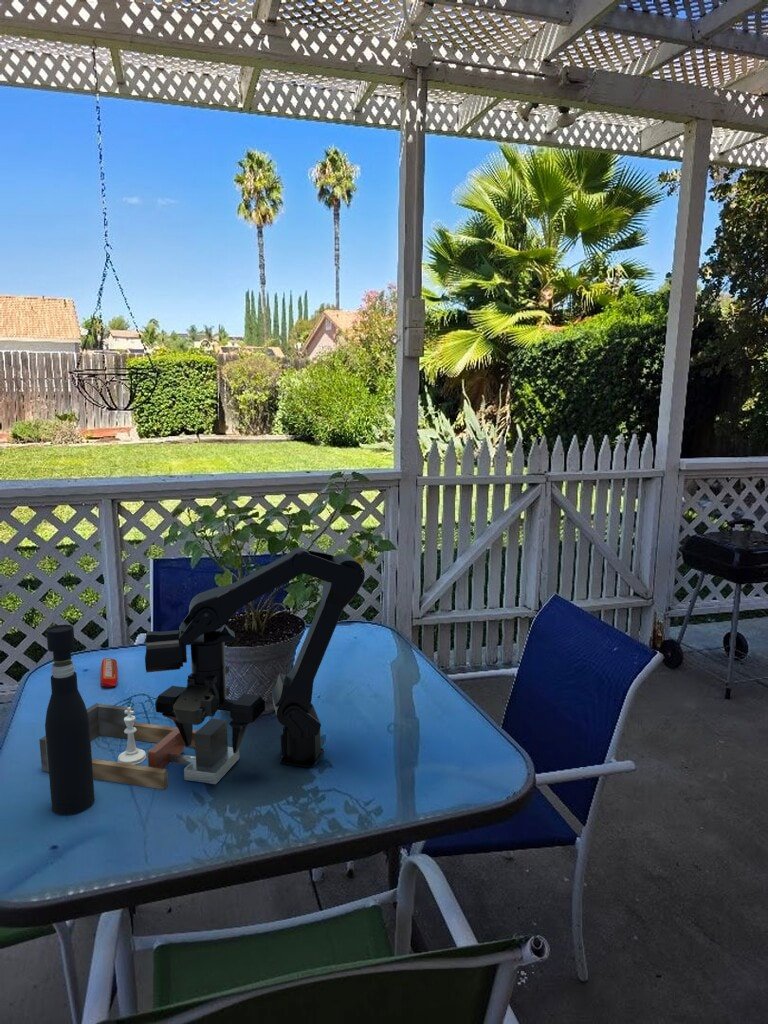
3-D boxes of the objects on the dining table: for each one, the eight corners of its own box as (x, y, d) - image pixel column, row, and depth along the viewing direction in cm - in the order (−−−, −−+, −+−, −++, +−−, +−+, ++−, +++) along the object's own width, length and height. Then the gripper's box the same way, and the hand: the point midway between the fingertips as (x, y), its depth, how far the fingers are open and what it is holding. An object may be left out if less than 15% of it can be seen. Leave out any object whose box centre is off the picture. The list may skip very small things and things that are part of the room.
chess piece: (136, 767, 123) (133, 714, 121) (112, 764, 124) (108, 712, 122) (151, 753, 127) (148, 703, 126) (127, 751, 128) (124, 701, 127)
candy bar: (117, 689, 157) (117, 677, 157) (100, 691, 156) (100, 679, 155) (117, 665, 172) (116, 654, 172) (101, 667, 171) (100, 656, 170)
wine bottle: (50, 819, 107) (35, 637, 102) (52, 798, 113) (38, 624, 108) (95, 810, 109) (82, 631, 105) (94, 789, 115) (82, 619, 111)
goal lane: (208, 746, 130) (207, 716, 129) (164, 789, 115) (162, 756, 114) (98, 731, 136) (96, 703, 135) (42, 770, 121) (39, 739, 120)
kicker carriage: (239, 758, 125) (238, 717, 124) (215, 784, 116) (213, 740, 115) (176, 749, 128) (174, 709, 127) (148, 774, 120) (146, 731, 118)
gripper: (133, 678, 113) (139, 765, 115) (236, 689, 108) (239, 779, 111) (170, 654, 124) (174, 734, 126) (265, 664, 119) (267, 747, 121)
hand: (212, 749), depth 121 cm, fingers open, 9 cm apart
